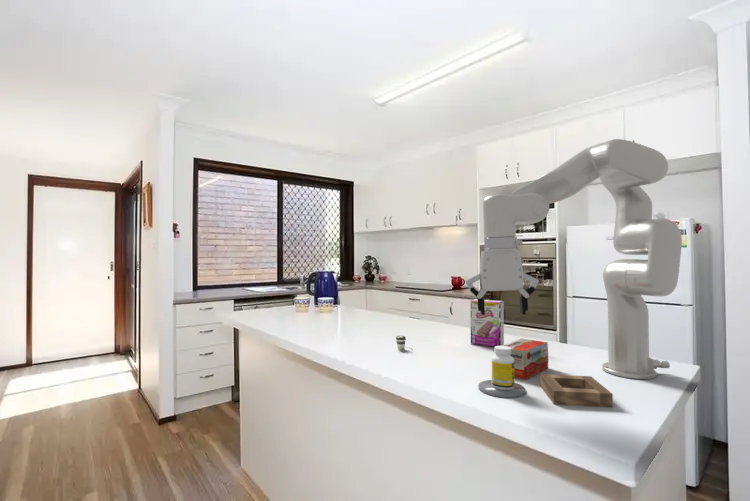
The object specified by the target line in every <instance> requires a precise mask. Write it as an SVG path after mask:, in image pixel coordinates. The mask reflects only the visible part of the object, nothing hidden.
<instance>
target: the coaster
mask: <svg viewBox="0 0 750 501" xmlns="http://www.w3.org/2000/svg"><path fill="white" fill-rule="evenodd" d="M514 383H515V384H514V389H512V390H499V389H496V388H494V387H493V386H492V379H487V380H483V381H480V382H479V383H478V386H477V387H478V390H479V391H480V392H482V393H483V394H485V395H489V396H492V397H495V398H504V399H510V398H513V399H515V398H519V397H522V396H524V395H525V394H526V388H525V387H524V386H523V385H522V384H520V383H518V382H514Z"/></svg>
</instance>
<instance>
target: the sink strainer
mask: <svg viewBox="0 0 750 501" xmlns="http://www.w3.org/2000/svg"><path fill="white" fill-rule="evenodd" d="M395 339H396V346H397V350H398V351H404V350H405V348H408V349H409V347H408V346H406V340H407V339H406V336H405V335H396V337H395ZM410 349H411V351H413V348H412V347H410Z"/></svg>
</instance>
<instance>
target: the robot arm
mask: <svg viewBox="0 0 750 501" xmlns="http://www.w3.org/2000/svg"><path fill="white" fill-rule="evenodd" d="M668 171H669V163H668V159H667V158H666V156H665V155H664V154H663V153H662V152H661V151H659V150H657V149H655V148H652V147H648V146H646V145H643V144H642V143H641V144H640V143H638V142H633V141H631V140H627V139H623V138H614V139H611V140H606V141H605V142H600V143H598V144H595V145H592V146H588V147H586V148H584V149H582V150H581V151H578V153H577V154H575V155H573V156H572V157H570V158H569V159H568V160H566V161H564V162H563V163H561V164H560V165H559V166H557V167H555V168H554V169H552V170H550V171H548V172H547V173H545V174H543V175H541V176H540V177H538V178H536V179H534V180H532V181H531V182H528V183H527V184H525V185H523V186H521V187H519V188H517V189H516V190H514V191H513V192H512V193H510V194H507V193H505V194H502V193H501V194H493V195H488V196H486V197H485V198H484V199H483V201H482V208H483V209H482V211H483V215H482V216H483V218H482V219H483V238H484V240H483V241H484V242H483V243H484V246H483V247H484V250H481V252H480V257H479V258H480V259H479V273H477V274H476V275H474V276H472V277H470V278H468V279H467V280H465V284H466V286H467V288H468V289H469V291H470V292H471V294H473V295H474V296H475V297H476V299H478V311H481V314H482V315H484V314H485V307H484V300H485V299H484V296H485V295H486V293H487V292H488V291H489V292H499V291H501V292H502V291H503V292H506V291H507V292H508V291H511V292H513V291H517V292H518V293H519V294H520V297H519V313H520V314H522V315H524V316H525V315H526V313H527V311H528V309H529V301H528V298H530V296H531V295H532V294H533V293H534V292H535V291H536V288H537V286H538V284H539V281H540V280H539V279H538V278H536V277H534V276H532V275H529V274H527V273H525V272H524V270H523V260H522V256H521V251H520V250H519V249H517V248H518V247H519V246H522V245H523V239H518V238H517V228H516V226H521V225H531V224H537V223H540V222H541V221H543V220H544V219H545V218H547V216H548V214H549V211H550V205H551V204H554V203H557V202H561V201H563V200H566V199H568V198H571V197H573V196H575V195H576V194H577V193H579V192H580V191H582V189H584V188H585V187H587V186H588V185H590V184H591V183H593V182H594V181H596V180H597V179H600V182H601V184H602V185H603V187H604V188H605V189H606V190H607V191H608V192H609V194H610V195H611V197H612V199H613V200H614V202H615V207H616V208H615V221H614V229H613V242H612V243H613V247H614V249H615V251H616V252H618V253H619V254H622V255H626V256H627V255H629V256H647V259H629V258H628V259H626V258H625V259H616V260H613V261H611V262H609V263H608V264H606V266H605V267H604V269H603V273H602V278H603V283H604V288H605V292H606V300H607V301H606V302H607V344H608V347H607V348H608V353H607V354H608V357H607V358H608V362H604V363H602V364H601V365H602V370H603V371H604V372H606V373H607V374H610V375H614V376H617V377H621V378H627V379H635V380H650V379H654V378H656V377H657V371H656V370H657V368H660V369H670V366H671V365H670V362H669V361H668V360H659V359H654V358H652V357H650V335H649V334H650V327H649V321H650V320H649V316H650V315H649V308H648V305H647V303H646V301H645V299H644V297H643V296H648V297H660V298H661V297H666V296H669V295H671V294H672V293H673V292H674V291H675V289H676V288H677V285H678V281H679V276H680V275H679V273H680V267H681V265H680V264H681V257H682V246H683V245H682V244H683V243H682V242H683V239H682V233H681V230H680V228H679V226H678V225H677V224H676V223H675V222H674V221H672V220H671V219H667V218H653V202H652V200H651V198H650V196H649V194H648V193H647V192H646V191H645V190H644V189H643V188H642V187H641V186H646V185H651V184H655V183H657V182H661V181H662V180H663V179H664V178H665V176H666V175H667V173H668ZM524 279H525V280H526V281H529V282H530V284H529V286H528V287H527V288H526V289H525V288H524V286H525V280H524ZM478 281H479V285H480V289H479V290H477V289H476V288H475V287H474V285H473V284H474V283H476V282H478Z"/></svg>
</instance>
